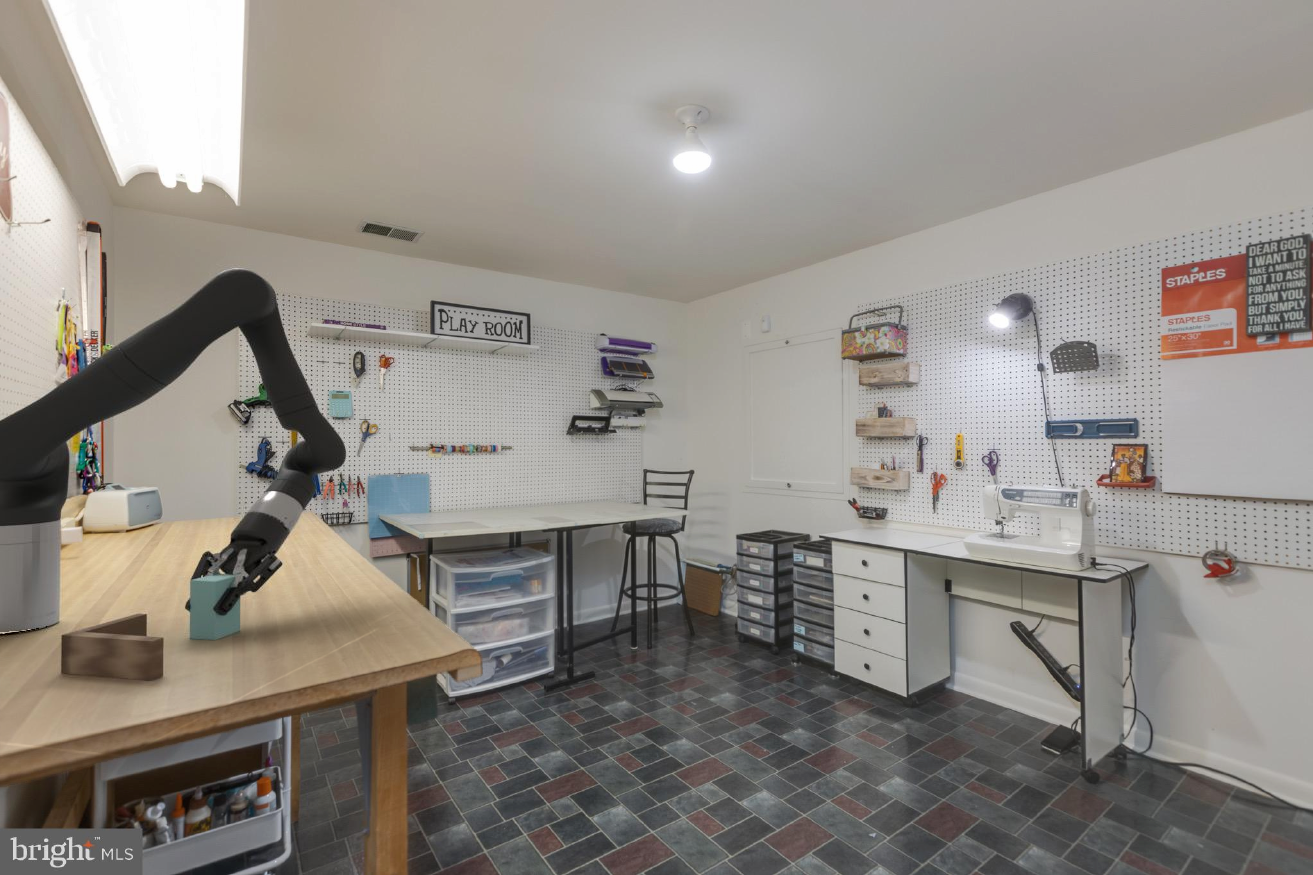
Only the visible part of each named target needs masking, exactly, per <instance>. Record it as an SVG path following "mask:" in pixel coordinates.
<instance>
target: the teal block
mask: <svg viewBox="0 0 1313 875" xmlns="http://www.w3.org/2000/svg"><path fill="white" fill-rule="evenodd" d="M234 578H235V576H234V575H231V574H225V573H221V574H217V575H210V576H206V577H203V576H201V578H197V579H193V580H191V579H190V581H189V598H190V612H189V639H193V640H205V641H206V640H208V641H217V640H219V639H221V638H224V637H227V636H230V635H233V634H235V633H238V632H240V631H241V597H240V598H239V599H238V601H237V602H236V603H235V605H234V606H233V608H232V609H231V610H230V611H229V612H228V613H227V614H226V615H225V616H222V615H219V614H217V613H216V612H215V611H214V610H213V608H214V606H215V605H216V604H217V602H218V601H219V599H220V598H221V597H222V595H223V594H224V592H225V591H226V590H227V588H231V587H230V585H231V582H232V580H233V579H234Z"/></svg>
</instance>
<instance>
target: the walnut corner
mask: <svg viewBox="0 0 1313 875" xmlns="http://www.w3.org/2000/svg"><path fill="white" fill-rule="evenodd" d="M147 621H148V614H147V613H136V614H132V615H127V616H124V617H121V618H117V619H114V620H110V621H107V622H103V623H99V624H96V625H92V626H89V627H85V628H82V629H78V630H75V631H70V632H67V633H64V634H61V638H60V639H61V641H60V642H61V644H60V645H61V647H60V648H61V650H60V651H61V653H60V654H61V655H60V658H61V659H60V673H61V674H66V675H67V674H69V675H80V676H91V677H104V678H105V677H106V678H115V679H126V680H127V679H129V680H140V681H154V680H157V679H159V678H161V677H164V640H165V638H164V637H160V636H149V635H147V632H148V631H147V629H148V628H147V627H148V622H147Z"/></svg>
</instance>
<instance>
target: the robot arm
mask: <svg viewBox="0 0 1313 875" xmlns="http://www.w3.org/2000/svg"><path fill="white" fill-rule="evenodd" d="M236 328H239V329H240V331H241V333H242V334H243V336H244V338H245V340H246V341H247V344H248V345H249V347H250V349H251V352H252V354H253V356H254V359H255V361H256V365H257V368H258V371H259V375H260V378H261V382H262V385H263V388H264V391H265V394H266V396H267V398H268V401H269V403H270V406H271V408H272V409H273V412H274V413H275V416H276V417H277V418H276V419H277V421H278V422H279V424H280V426H281V428H283V429H284V430H286V431H294V432H297V433H298V434H299V435H300V436H301V437H302V438H303V439H304V440H301V441H299V442H297V443H295V444H294V445H292V446H291V448H289V450H288V451H287V452H286V454H285V455H284V458H283V459H282V462H281V464H280V467H279V469H278V472H277V475H276V477H275V478H274V479H273V481H272V482H271V483H270V485H269V486H268V487H267V488H266V490H265V491H264V493H263V494H262V495H261V496H260V497H259V498H257V500H256V501H255V502H254V503H253V504H252V505H251V507H250V508H249V510H247V512H246V513H245V514H244V516H243V517H242V519H241V520H240V521H239V522H238V524H237V525H236V526H235V528H234V529H233V530H232V532H231V533H230V539H229V540H230V542H229V544H228V545H226V546H225V547H224V548H223V549H222V550H220V552H216V553H212V552H211V551H209V550H207V551H205V552H204V553H202V555H201V557H200V559H199V561H198V564H197V566H196V568H195V569H194V571H193V574H192V576H191V578H190V580H193V579H197V578H202V577H206V576H210V575H217V574H222V573H223V574H231V575H234V576H235V578H234V579H233V580H232V582H231V585H230V587H231V588H227V590H226V591H225V592H224V594H223V595H222V597H221V598H220V599H219V601H218V602H217V604H216V605H215V606H214V608H213V610H214V611H215V612H216V613H217V614H219V615H222V616H225V615H226V614H227V613H228V612H229V611H230V610H231V609H232V608H233V606H234V605H235V603H236V602H237V601H238V599H239V598H240V599H241V596H243V595H244V596H245V595H246V594H247V593H248V592H251V593H256V592H258V591H259V590H260V588H262V587H263V585H265V584H266V583H267V581H268V580H269V579H270V578H271V577H272V576H273V575H274V574H276V572H277V571H278V570H279V569H280V568H281V567H282V566H283V562H282V561H281V559H280V558H279V557H278V556H277V555H276V554H277V553H278V552H279V550H280V549H281V547H282V546H283V544H284V542H285V541H286V540H287V538H289V535H290V534H291V532H292V531H293V530H294V528H295V527H296V525H297V523H298V522H299V520H300V517H301V515H302V513H303V512H304V510H306V508H307V506H308V505H309V503H310V502H311V500H312V498H313V497H314V496H315V494H316V491H317V484H316V482H315V481H314V478H315V477H317V475H320V474H323V473H328V472H332V471H335V470H338V469H340V468H341V467H342V466H343V465H344V464H345V462H346V458H347V449H346V446H345V444H344V441H343V439H342V437H341V436H340V434H339V433H338V432H337V431H336V429H335V428H334V427H333V425H332V424H331V423H330V422H329V420H327V418H326V417H325V416H324V414H323V413H322V412H321V411H320V409H319V406H318V404H317V402H316V400H315V397H314V395H313V393H312V390H311V388H310V386H309V384H308V382H307V380H306V378H305V376H304V374H303V371H302V369H301V368H300V365H299V363H298V362H297V359H296V357H295V355H294V353H293V350H292V348H291V346H290V343H289V341H288V338H287V335H286V332H285V329H284V326H283V322H282V318H281V314H280V310H279V305H278V301H277V295H276V291H275V289H274V288H273V286H272V285H271V283H270V282H269V281H268V280H266V279H265V278H263V276H261V275H260V274H258V273H257V272H255V271H252V270H250V269H248V268H239V267H238V268H237V267H234V268H229V269H225V270H223V271H221V272H219V273H217V274H216V275H215V276H213V277H212V278H211V279H210V280H209V281H208V282H206V284H205V285H203V286H202V287H201V288H200V289H198V290H197V292H195V293H194V294H192V295H191V296H190V297H188V299H186V301H184V302H183V303H182V304H181V305H179V306H178V307H176V308H175V309H174V310H172V311H170V312H169V313H168V314H166V315H164V316H162V317H161V318H159V319H157V320H155V321H154V322H152V323H150V324H149V325H147V326H145V327H143V328H142V329H140V330H139V331H137V332H136V333H134V334H133V335H130V336H129V337H127V338H126V339H124V340H123V341H121V342H119V343H117V344H116V345H115V346H113V347H112V348H110V349H109V350H107V351H106V352H105V353H103V354H102V355H100V356H99V357H97V358H96V359H94V360H93V361H92V362H90V363H89V364H87V366H85V367H83V368H82V369H81V370H79V371H78V372H76V373H74V374H73V375H71V376H70V377H69V378H68V379H65V381H63V382H62V383H60V384H59V385H58V386H56V387H55V388H53V389H52V390H50V392H48V393H47V394H45V395H44V396H42V397H40V398H38V399H37V400H34V402H32V403H30V404H28V405H27V406H25V407H23V408H21V409H19V410H17V411H15V412H14V413H12V414H10V415H8V416H6V417H4V418H2V419H0V632H9V631H22V630H28V629H35V630H37V629H36V628H39V629H43V628H45V627H46V626H47V627H51V626H52V625H55V624H57V623H59V622H60V607H61V606H60V605H61V601H60V600H61V556H62V555H61V553H62V552H61V551H62V550H61V546H62V545H61V544H62V540H61V538H62V536H61V531H62V530H61V529H62V526H61V525H62V510H63V508H64V505H65V504H66V501H67V498H68V493H69V481H70V480H69V479H70V478H69V477H70V464H71V463H70V458H71V457H70V450H69V446H68V443H67V442H68V441H69V440H71V439H72V438H73V437H74V436H76V435H78V434H79V433H81V432H83V431H84V430H86V429H87V428H90V427H92V426H94V425H96V424H98V423H101V422H103V421H107V420H108V419H111V418H113V417H115V416H117V415H120V414H123V413H124V412H127V411H129V410H131V409H133V408H136V407H138V406H139V405H141V404H143V403H144V402H146V401H148V400H149V399H151V398H152V397H154V396H155V395H156V394H158V393H160V392H161V391H162V390H164V389H165V388H167V387H168V386H169V385H171V384H172V383H174V382H175V381H176V380H177V379H178V378H179V377H180V376H182V375H183V374H184V372H186V371H187V370H188V368H190V367H191V366H192V364H193V363H194V362H195V361H196V360H197V358H198V357H199V356H200V355H201V354H202V353H203V352H204V351H205V350H206V349H207V348H208V347H209V346H210V345H211V344H213V343H214V342H216V341H217V340H219V339H220V338H221V337H223V336H225V335H226V334H228V333H230V332H231V331H233V330H234V329H236ZM220 571H221V572H222V573H221V572H220ZM258 577H259V578H258ZM257 578H258V579H257ZM256 579H257V580H256ZM255 580H256V581H255ZM184 609H185V610H186V611H188V612H189V613H190V597H189V599H188V600H187V601H186V603H185V605H184Z"/></svg>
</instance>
